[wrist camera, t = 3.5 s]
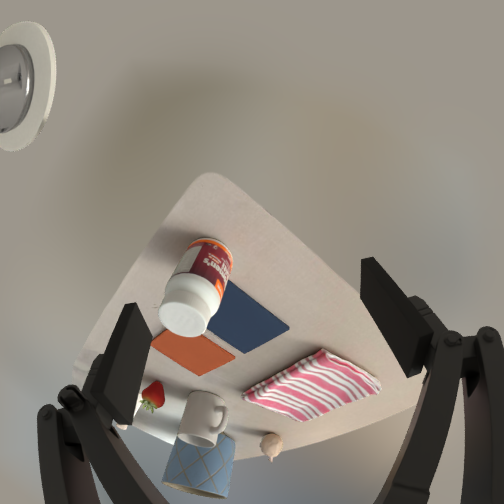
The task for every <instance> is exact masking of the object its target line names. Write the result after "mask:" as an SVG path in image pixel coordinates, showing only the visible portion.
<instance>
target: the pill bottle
mask: <svg viewBox="0 0 504 504" xmlns="http://www.w3.org/2000/svg"><path fill="white" fill-rule="evenodd" d="M232 266H233V258H232V254H231V252H230V251H229V249H228V248H227V247H226V246H225V245H224V244H223V243H221V242H220V241H218V240H215V239H212V238H201V239H198V240H195V241H194V242H192V243H191V244H190V245H189V247H188V248H187V250H186V251H185V253H184V255H183V257H182V258H181V260H180V262H179V264H178V265H177V267H176V269H175V271H174V272H173V274H172V276H171V278H170V279H169V281H168V283H167V285H166V288H165V297H164V299H163V301H162V303H161V305H160V307H159V310H158V316H159V319H160V321H161V323H162V324H163V325H164V326H165V327H166V328H167V329H168V330H170V331H171V332H173V333H175V334H177V335H180V336H184V337H197V336H200V335H201V334H203V333H204V332H205V330H206V328H207V325H208V322H209V320H210V317H212V316H213V315H214V314H215V313H216V312H217V310H218V308H219V305H220V302H221V299H222V296H223V293H224V291H225V287H226V285H227V281H228V278H229V275H230V272H231V269H232Z"/></svg>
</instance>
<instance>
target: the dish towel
mask: <svg viewBox="0 0 504 504" xmlns="http://www.w3.org/2000/svg"><path fill="white" fill-rule="evenodd" d="M380 384H381V383H380V382H379V381H378V380H377V379H376V378H374V377H373V376H372V375H370V374H369V373H368V372H366V371H364V370H363V369H361V368H359V367H357V366H355V365H354V364H352V363H351V362H349V361H346V360H343V359H341V358H339V357H337V356H335V355H333V354H331V353H330V352H328V351H327V350H325V349H321V350H319V351H318V352H317V353H316V354H315V355H311V356H309V357H307V358H304V359H302V360H300V361H299V362H297V363H295V364H294V365H293V366H291V367H289V368H288V369H285V370H283V371H282V372H279V373H277V374H276V375H274V376H272V377H271V378H269V379H267V380H265V381H262V382H261V383H259V384H257V385H255V386H253V387H251V388H250V389H249V390H248V391H246V392H243V393H242V395H241V398H242V399H243V400H245V401H248V402H252V403H254V404H256V405H258V406H261V407H263V408H266V409H268V410H270V411H273V412H276V413H279V414H281V415H285V416H287V417H289V418H291V419H293V420H295V421H299V422H304V421H307V420H311V419H314V418H317V417H319V416H321V415H323V414H324V413H326V412H329V411H331V410H333V409H335V408H339V407H341V406H344V405H345V404H347V403H349V402H355V401H357V400H360V399H363V398H364V397H368V396H369V395H370V394H379V391H380V390H381V386H380Z"/></svg>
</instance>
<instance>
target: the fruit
mask: <svg viewBox="0 0 504 504" xmlns="http://www.w3.org/2000/svg"><path fill="white" fill-rule="evenodd" d="M142 399H143V400H140V401H139V402H141V403H142V404H143V403H146V404H144V405H143V408H144V407H146V406H147V405H148V406H147V408H146V411H147V410H148V409H149V408H150V409H151V411H152V413H153V407H154V408H155V409H157V408H160V407H162V406H163V404H164V402H165V396H164V389H163V386H162V384H161V383H160V382H158V381H155V382H153V383H152V384H151V385H150V386H149V387H147V388H146V389H144V390H143V391H142Z"/></svg>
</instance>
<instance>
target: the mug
mask: <svg viewBox="0 0 504 504" xmlns="http://www.w3.org/2000/svg"><path fill="white" fill-rule="evenodd" d="M228 417H229V411H228V408H227V407H226V406H225V402H224V400H223V399H222V398H220V397H219V396H217V395H215V394H212V393H209V392H204V391H194V392H191V393H190V394H189V396H188V400H187V403H186V407H185V410H184V413H183V417H182V420H181V423H180V427H179V430H178V433H177V436H178V438H179V439H181V440H182V441H184V442H186V443H189V444H192V445H195V446H199V447H214V446H215V445H216V442H217V437H218V434H219V433H221V432H222V431H223V430H224V429H225V427H226V425H227V422H228ZM221 419H222V420H221Z"/></svg>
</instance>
